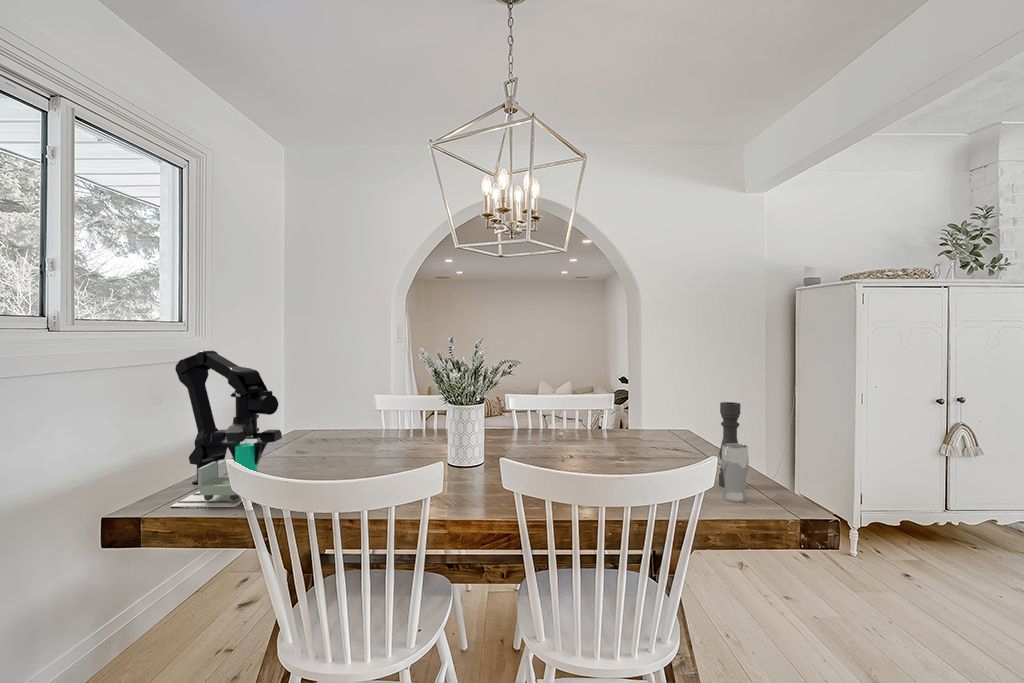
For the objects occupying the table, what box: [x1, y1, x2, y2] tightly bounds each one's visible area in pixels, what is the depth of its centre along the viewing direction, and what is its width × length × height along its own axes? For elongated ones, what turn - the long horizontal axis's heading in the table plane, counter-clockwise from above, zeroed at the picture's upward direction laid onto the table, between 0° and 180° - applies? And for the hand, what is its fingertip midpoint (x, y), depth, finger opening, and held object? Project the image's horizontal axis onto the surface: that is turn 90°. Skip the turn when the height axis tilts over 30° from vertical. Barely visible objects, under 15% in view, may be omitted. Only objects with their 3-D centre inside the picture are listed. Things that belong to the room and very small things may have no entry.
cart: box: [197, 462, 239, 501], centre depth 151 cm, size 10×11×9 cm
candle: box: [234, 442, 258, 473], centre depth 162 cm, size 6×6×12 cm
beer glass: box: [721, 443, 749, 503], centre depth 152 cm, size 7×7×15 cm
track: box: [169, 491, 242, 509], centre depth 151 cm, size 13×17×1 cm
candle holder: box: [718, 401, 741, 488], centre depth 165 cm, size 6×6×25 cm
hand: (246, 464), depth 162 cm, fingers closed on candle, 5 cm apart
